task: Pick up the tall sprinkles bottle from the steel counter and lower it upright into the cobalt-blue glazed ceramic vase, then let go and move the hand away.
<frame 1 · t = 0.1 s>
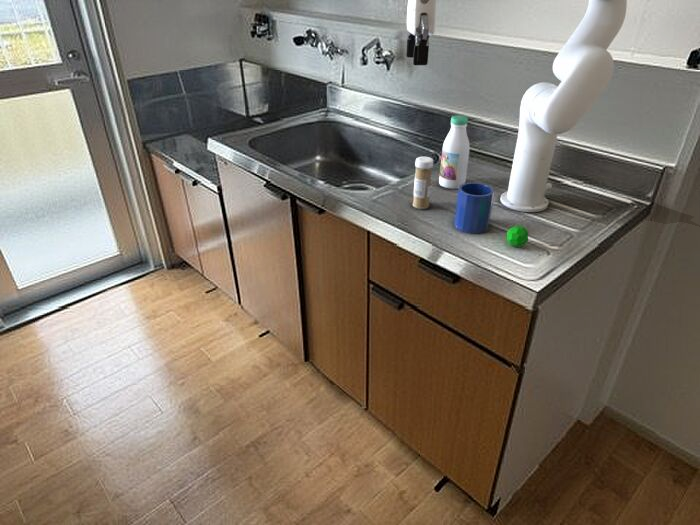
hand: (416, 60, 115), 37 cm above the countertop, tool pointing down, fingers open, 9 cm apart
polyhedron: (515, 245, 116), on the countertop
milk bottle: (451, 184, 147), on the countertop
sprinkles bottle: (420, 206, 134), on the countertop
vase: (470, 225, 125), on the countertop
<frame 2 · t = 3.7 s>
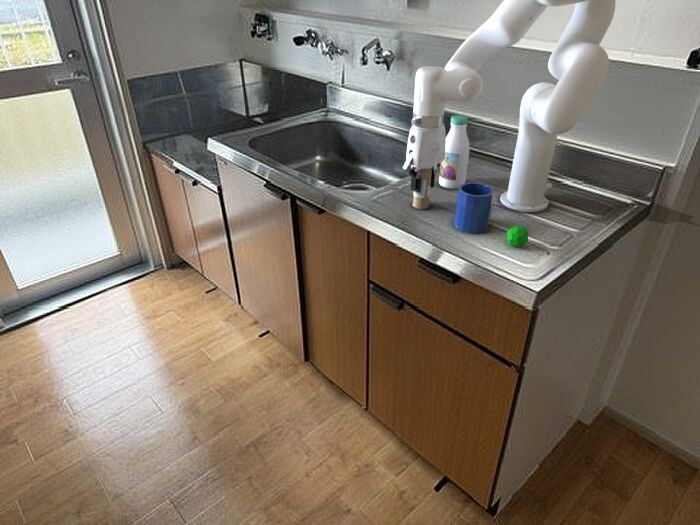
hand: (422, 187, 132), 5 cm above the countertop, tool pointing down, fingers closed on sprinkles bottle, 4 cm apart
sprinkles bottle: (420, 206, 134), on the countertop, touching gripper
everything else where it was.
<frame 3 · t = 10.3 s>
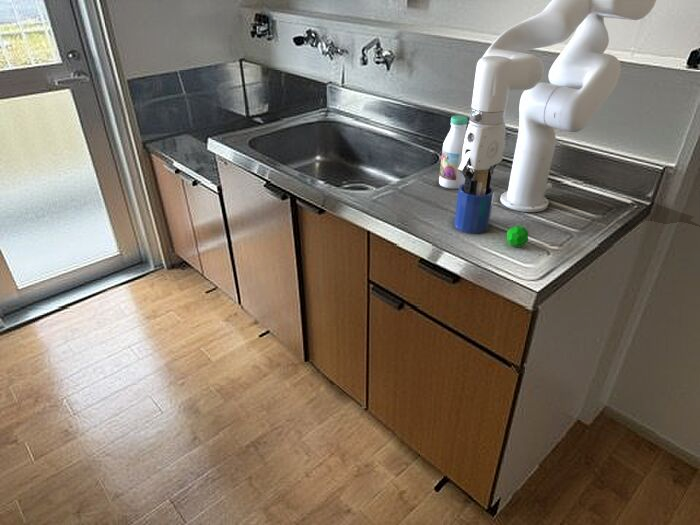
hand: (476, 190, 120), 10 cm above the countertop, tool pointing down, fingers closed on sprinkles bottle, 4 cm apart
sprinkles bottle: (473, 211, 123), point 4 cm above the countertop, touching gripper
everything else where it was.
when the fingers open (10 cm above the countertop, at t = 16.2 s): sprinkles bottle drops 4 cm, resting on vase.
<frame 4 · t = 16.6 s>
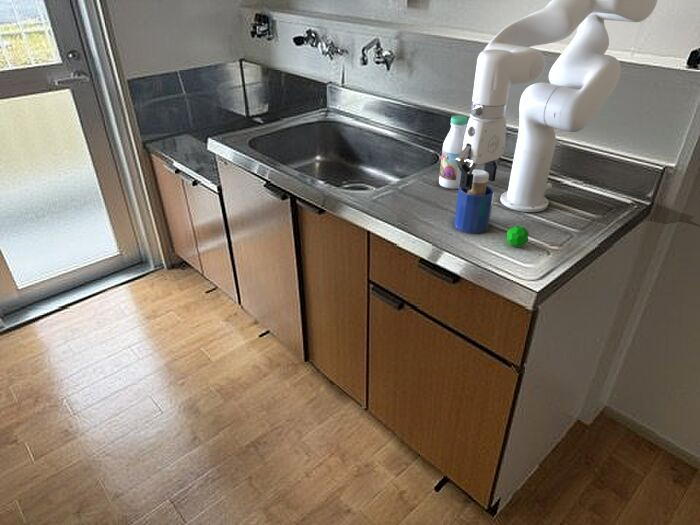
hand: (477, 183, 119), 11 cm above the countertop, tool pointing down, fingers open, 7 cm apart
sprinkles bottle: (471, 223, 125), point 1 cm above the countertop, touching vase
everything else where it was.
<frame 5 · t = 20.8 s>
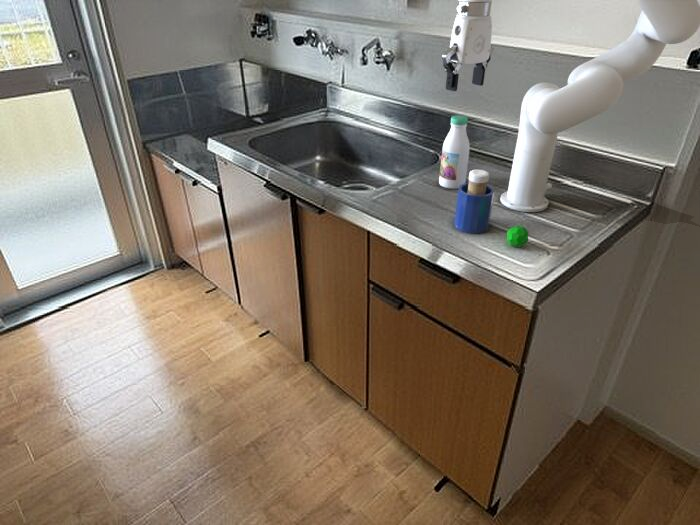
hand: (464, 87, 122), 30 cm above the countertop, tool pointing down, fingers open, 9 cm apart
nothing on the countertop moved.
at the end: sprinkles bottle 0.3 cm off-centre in the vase, point 0.6 cm above the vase's base; sprinkles bottle tilted 0°; the gripper is holding nothing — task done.
